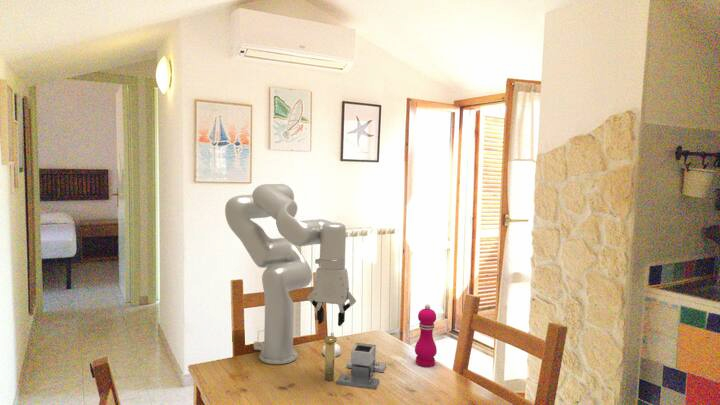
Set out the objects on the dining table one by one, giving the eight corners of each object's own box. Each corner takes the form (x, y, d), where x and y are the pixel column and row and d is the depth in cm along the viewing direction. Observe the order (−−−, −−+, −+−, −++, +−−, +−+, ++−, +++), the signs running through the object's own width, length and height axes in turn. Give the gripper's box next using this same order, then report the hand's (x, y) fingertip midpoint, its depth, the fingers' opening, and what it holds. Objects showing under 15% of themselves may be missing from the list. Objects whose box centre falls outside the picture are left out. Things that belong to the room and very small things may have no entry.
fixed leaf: (336, 383, 146) (336, 370, 145) (346, 368, 157) (346, 356, 156) (376, 389, 143) (376, 376, 143) (383, 373, 154) (383, 361, 154)
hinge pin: (321, 381, 147) (322, 339, 146) (325, 375, 151) (326, 335, 150) (333, 382, 146) (334, 341, 145) (336, 377, 150) (338, 336, 149)
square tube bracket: (341, 375, 151) (341, 350, 150) (350, 361, 162) (351, 337, 161) (379, 381, 148) (380, 354, 147) (386, 365, 159) (387, 341, 159)
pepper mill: (435, 368, 159) (438, 308, 157) (413, 366, 160) (415, 306, 159) (436, 360, 166) (439, 302, 164) (415, 357, 167) (417, 300, 166)
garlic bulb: (330, 361, 164) (332, 338, 163) (318, 353, 168) (320, 331, 167) (344, 356, 168) (346, 333, 167) (331, 349, 173) (333, 327, 172)
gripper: (300, 264, 144) (299, 324, 146) (357, 269, 140) (355, 330, 142) (309, 259, 151) (307, 317, 153) (363, 264, 148) (361, 322, 149)
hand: (330, 323), depth 147 cm, fingers open, 5 cm apart
